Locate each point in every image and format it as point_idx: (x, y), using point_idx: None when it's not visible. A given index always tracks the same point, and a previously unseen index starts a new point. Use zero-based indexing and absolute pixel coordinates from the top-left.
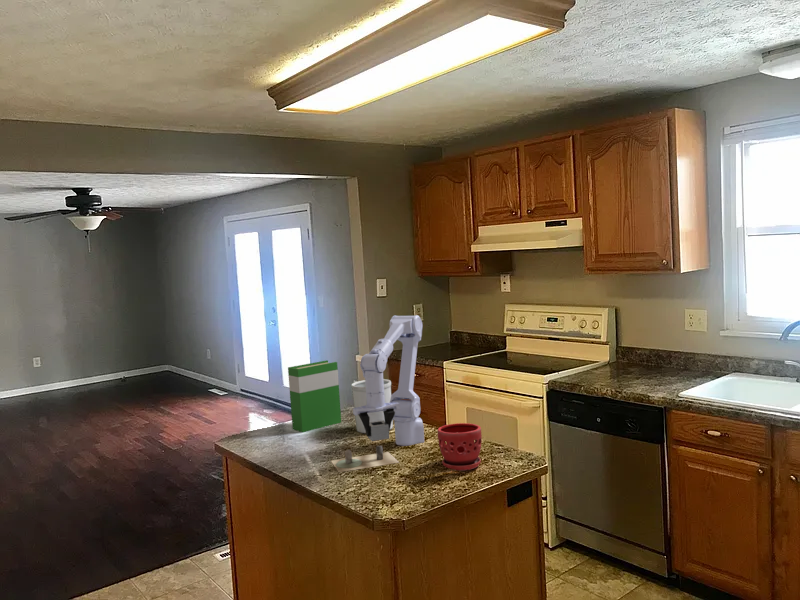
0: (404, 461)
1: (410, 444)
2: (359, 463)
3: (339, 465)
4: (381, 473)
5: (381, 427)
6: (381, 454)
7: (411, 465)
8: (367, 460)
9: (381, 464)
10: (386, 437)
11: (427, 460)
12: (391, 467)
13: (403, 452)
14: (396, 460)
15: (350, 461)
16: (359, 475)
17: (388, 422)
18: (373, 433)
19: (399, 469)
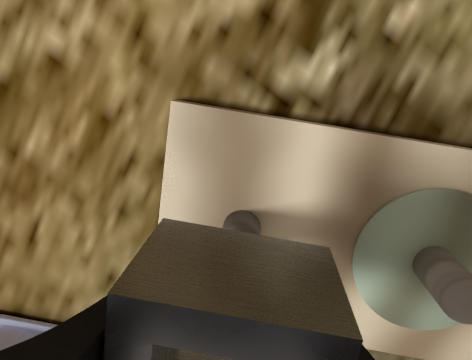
0: (123, 148)
1: (3, 331)
2: (387, 218)
3: None
4: (328, 34)
5: (213, 295)
6: (235, 223)
7: (115, 56)
8: None
9: (279, 132)
10: (186, 226)
11: (3, 80)
12: (229, 98)
13: (73, 282)
14: (172, 142)
15: (438, 252)
16: (453, 85)
17: (83, 339)
18: (318, 281)
19: (205, 33)
